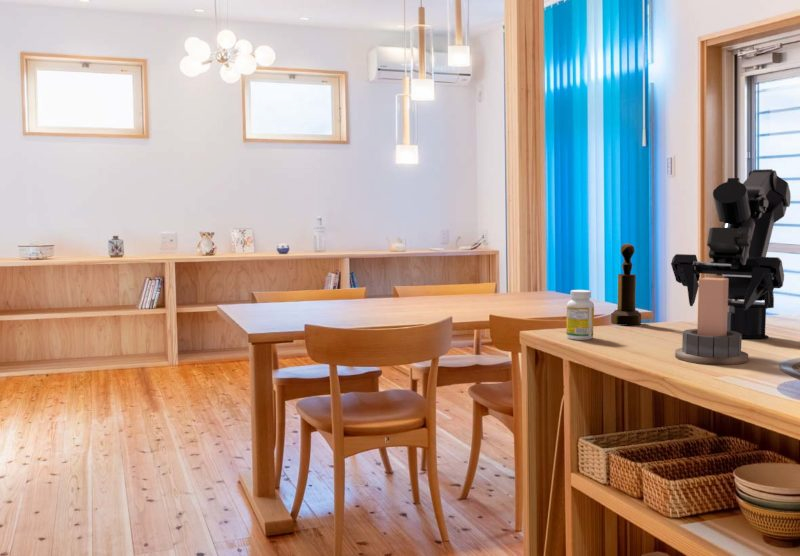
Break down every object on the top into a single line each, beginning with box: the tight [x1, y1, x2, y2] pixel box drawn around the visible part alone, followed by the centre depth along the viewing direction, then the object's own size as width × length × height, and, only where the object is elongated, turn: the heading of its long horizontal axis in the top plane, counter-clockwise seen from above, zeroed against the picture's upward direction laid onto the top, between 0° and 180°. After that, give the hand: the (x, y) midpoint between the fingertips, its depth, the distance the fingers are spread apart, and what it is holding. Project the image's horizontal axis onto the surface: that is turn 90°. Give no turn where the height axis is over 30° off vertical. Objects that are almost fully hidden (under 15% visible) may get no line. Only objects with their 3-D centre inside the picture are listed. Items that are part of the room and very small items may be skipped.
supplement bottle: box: [566, 289, 595, 341], centre depth 168 cm, size 5×5×10 cm
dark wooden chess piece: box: [610, 243, 642, 326], centre depth 187 cm, size 7×6×18 cm
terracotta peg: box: [696, 276, 729, 336], centre depth 145 cm, size 4×4×13 cm
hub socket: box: [674, 328, 749, 366], centre depth 146 cm, size 12×12×4 cm
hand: (717, 306), depth 148 cm, fingers open, 9 cm apart
